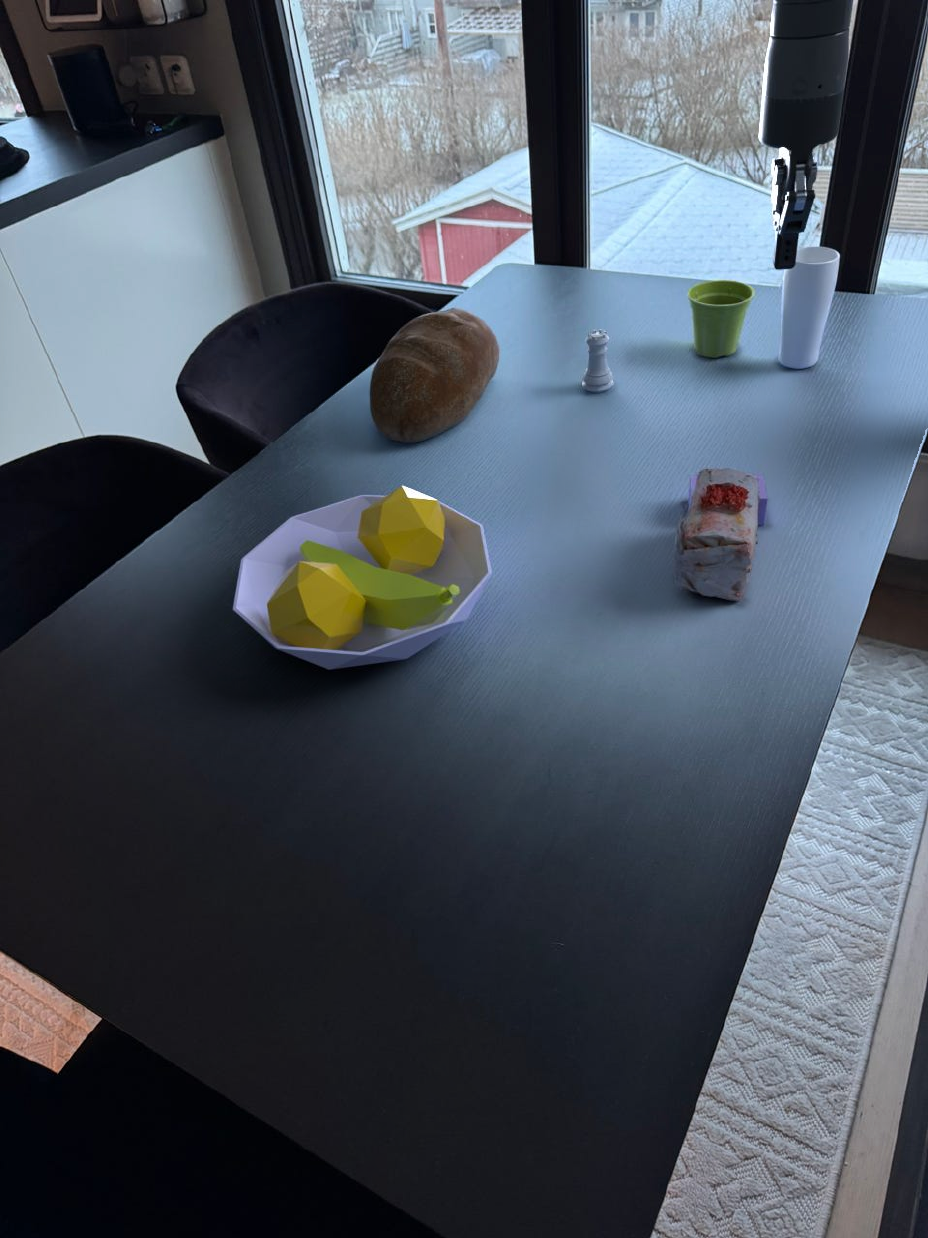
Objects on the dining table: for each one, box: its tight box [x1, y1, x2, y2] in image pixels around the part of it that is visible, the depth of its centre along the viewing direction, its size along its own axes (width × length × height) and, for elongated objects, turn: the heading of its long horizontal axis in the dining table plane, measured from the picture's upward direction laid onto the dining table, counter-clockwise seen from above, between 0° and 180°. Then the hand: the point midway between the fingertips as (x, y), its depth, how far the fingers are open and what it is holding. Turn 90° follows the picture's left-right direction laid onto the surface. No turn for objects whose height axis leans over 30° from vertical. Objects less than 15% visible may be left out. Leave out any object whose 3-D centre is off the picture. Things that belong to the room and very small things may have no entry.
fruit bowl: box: [232, 485, 493, 671], centre depth 89 cm, size 28×27×11 cm
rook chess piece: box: [581, 328, 614, 394], centre depth 124 cm, size 4×4×8 cm
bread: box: [369, 307, 500, 443], centre depth 126 cm, size 16×29×11 cm, turn 162°
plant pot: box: [686, 279, 756, 359], centre depth 129 cm, size 9×9×9 cm
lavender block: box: [688, 473, 769, 526], centre depth 99 cm, size 8×5×4 cm, turn 81°
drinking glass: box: [778, 246, 841, 370], centre depth 121 cm, size 7×7×15 cm
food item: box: [673, 467, 760, 602], centre depth 90 cm, size 14×8×10 cm, turn 164°
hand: (783, 266), depth 97 cm, fingers closed
